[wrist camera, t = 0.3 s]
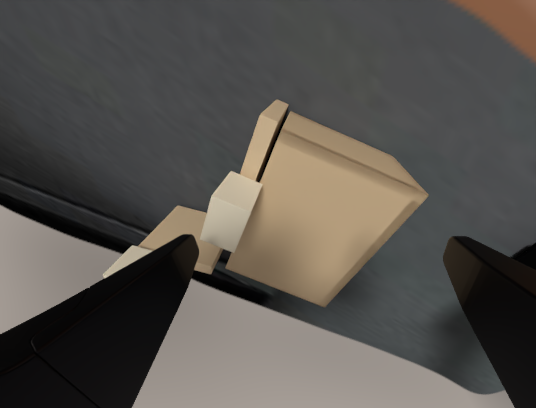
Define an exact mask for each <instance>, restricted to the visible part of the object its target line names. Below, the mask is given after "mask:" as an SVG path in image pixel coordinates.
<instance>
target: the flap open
mask: <svg viewBox="0 0 536 408" xmlns="http://www.w3.org/2000/svg"><path fill="white" fill-rule="evenodd" d="M206 215H207V213H205V212H201V211H197V210H193V209H190V208H186V207H182V206H177V207H176V208H175V209H174V210H173V211H172V212H171V213H170V214H169V215H168V216H167V217H166V218H165V219H164V220H163V221H162V222H161V223H160V224H159V225H158V226H157V227H156V228H155V229H154V230H153V231H152V232H151V233H150V234H149V235H148V236H147V238H146V239H145V240H144V241H143V242H142V243H141V244H140V245H139V246H138V247H137V246H133V245H132V246H131V247H130V248H129V249H128V250H127V251H126V252H125V253H124V254H123V255H122V256H121V257H120V258H119V259H118V260H117V261H116V262H115V263H114V264H113V265H112V266H111V267H110V268H109V269H108V270H107V271H106V272H105V273H104V274H103V277H104V278H106V277H108V276H110V275H111V274H113V273H115V272H117V271H118V270H120V269H122V268H124V267H126V266H127V265H129V264H131V263H133V262H134V261H136V260H138V259H140V258H141V257H143V256H145V255H147V254H149V253H150V252H152V251H154V250H156V249H157V248H159V247H161V246H163V245H164V244H166V243H168V242H170V241H171V240H173V239H175V238H177V237H179V236H180V235H182V234H192V235H194V237H195V240H196V242H197V245H198V248H199V257H198V260H197V263H196V265H195V268H194V270H196V271H200V272H204V273H208V274H212V271H213V269H214V267H215V265H216V263H217V261H218V259H219V257H220V255H221V253H222V251H223V248H220V247H218V246H215V245H213V244H210V243H208V242H205V241H203V240H200V237H201V233H202V229H203V226H204V222H205V218H206Z"/></svg>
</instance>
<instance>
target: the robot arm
mask: <svg viewBox="0 0 536 408" xmlns="http://www.w3.org/2000/svg"><path fill="white" fill-rule="evenodd" d="M198 257H199V248H198V245H197V242H196V240H195V237H194V235H192V234H182V235H180V236H179V237H177V238H175V239H173V240H171V241H170V242H168V243H166V244H164V245H163V246H161V247H159V248H157V249H156V250H154V251H152V252H150V253H149V254H147V255H145V256H143V257H141V258H140V259H138V260H136V261H134V262H133V263H131V264H129V265H127V266H126V267H124V268H122V269H120V270H118V271H117V272H115V273H113V274H111V275H110V276H108V277H106V278H104V279H103V280H101V281H99V282H97V283H96V284H94V285H92V286H90V288H87V289H85V290H83V291H81V292H80V293H78V294H76V295H74V296H72V297H71V298H69V299H67V300H65V301H63V302H62V303H60V304H58V305H56V306H54V307H52V308H50V309H49V310H47V311H45V312H43V313H41V314H39V315H37V316H35V317H33V318H31V319H29V320H27V321H26V322H23V323H21V324H20V325H18V326H16V327H14V328H12V329H10V330H8V331H6V332H4V333H2V334H0V408H132V406H133V404H134V402H135V400H136V398H137V395H138V393H139V391H140V389H141V387H142V385H143V383H144V380H145V378H146V376H147V374H148V372H149V370H150V368H151V366H152V363H153V361H154V359H155V357H156V355H157V353H158V351H159V348H160V346H161V344H162V342H163V340H164V338H165V336H166V333H167V331H168V329H169V327H170V324H171V323H172V320H173V318H174V316H175V314H176V312H177V310H178V308H179V306H180V303H181V301H182V299H183V297H184V295H185V292H186V290H187V288H188V285H189V282H190V280H191V277H192V274H193V271H194V268H195V265H196V263H197V260H198ZM443 262H444V265H445V267H446V270H447V272H448V275H449V277H450V280H451V282H452V285H453V287H454V290H455V292H456V295H457V298H458V300H459V302H460V305H461V307H462V309H463V311H464V313H465V315H466V317H467V319H468V321H469V323H470V325H471V326H472V328H473V330H474V332H475V334H476V336H477V338H478V340H479V341H480V343H481V345H482V347H483V349H484V351H485V353H486V355H487V356H488V358H489V360H490V362H491V364H492V366H493V368H494V370H495V371H496V373H497V375H498V377H499V379H500V381H501V383H502V385H503V386H504V388H505V390H506V392H507V394H508V396H509V398H510V399H511V401H512V403H513V405H514V407H515V408H536V245H535V246H534V247H532V248H531V249H529V250H528V251H526V252H525V253H523V254H522V255H520V256H519V257H517V258H516V259H512V258H510V257H508V256H506V255H504V254H502V253H500V252H498V251H496V250H494V249H492V248H490V247H488V246H486V245H484V244H482V243H480V242H478V241H476V240H473V239H471V238H469V237H466V236H452V237H450V238H449V240H448V243H447V246H446V249H445V252H444V255H443Z"/></svg>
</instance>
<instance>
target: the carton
mask: <svg viewBox="0 0 536 408" xmlns="http://www.w3.org/2000/svg"><path fill="white" fill-rule="evenodd" d="M260 183H261V184H263V185H262V187H261V190H260V192H259V194H258V197H257V199H256V202H255V204H254V206H253V209H252V211H251V214H250V216H249V219H248V221H247V223H246V226H245V228H244V231H243V233H242V235H241V238H240V240H239V243H238V245H237V247H236V250H235V252H234V253H233V252H232V253H231V255H230V258H229V260H228V263H227V265H226V269H228V270H231V271H233V272H236V273H238V274H241V275H243V276H246V277H249V278H251V279H254V280H256V281H259V282H261V283H264V284H266V285H269V286H271V287H274V288H276V289H279V290H282V291H284V292H287V293H289V294H292V295H294V296H297V297H299V298H302V299H304V300H307V301H309V302H312V303H315V304H317V305H320V306H322V307H325V306H326V305H327V304H328V303H329V302H330V301H331V300H332V299H333V298H334V297H335V296H336V295H337V294H338V292H339V291H340V290H341V289H342V288H343V287H344V286H345V285H346V284H347V283H348V282H349V281H350V280H351V279H352V277H353V276H354V275H355V274H356V273H357V272H358V271H359V270H360V269H361V268H362V267H363V266H364V265H365V264H366V262H367V261H368V260H369V259H370V258H371V257H372V256H373V255H374V254H375V253H376V252H377V251H378V250H379V249H380V247H381V246H382V245H383V244H384V243H385V242H386V241H387V240H388V239H389V238H390V237H391V236H392V235H393V234H394V232H395V231H396V230H397V229H398V228H399V227H400V226H401V225H402V224H403V223H404V222H405V221H406V220H407V219H408V217H409V216H410V215H411V214H412V213H413V212H414V211H415V210H416V209H417V208H418V207H419V206H420V205H421V204H422V202H423V201H424V200H425V199H426V198H427V197H428V196H429V195H428V194H427V193H426V191H425V190H424V189H423V188H422V187H421V186H420V185H419V184H418V183H417V182H416V181H415V180H414V179H413V178H412V176H411V175H410V174H409V173H408V172H407V171H406V170H405V169H404V168H403V167H402V166H401V165H400V164H399V162H398V161H397V160H396V159H395V158H394V157H393V156H391V155H389V154H387V153H384V152H382V151H380V150H378V149H375V148H373V147H371V146H368V145H366V144H364V143H362V142H359V141H357V140H355V139H353V138H350V137H348V136H346V135H344V134H341V133H339V132H337V131H335V130H332V129H330V128H328V127H326V126H323V125H321V124H319V123H316V122H314V121H312V120H310V119H307V118H305V117H303V116H301V115H298V114H296V113H294V112H292V111H290V113H289V115H288V117H287V119H286V121H285V123H284V125H283V127H282V129H281V132H280V134H279V136H278V139H277V141H276V144H275V146H274V149H273V151H272V154H271V156H270V159H269V161H268V164H267V166H266V169H265V171H264V174H263V176H262V179H261V181H260Z"/></svg>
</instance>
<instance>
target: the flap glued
mask: <svg viewBox="0 0 536 408" xmlns="http://www.w3.org/2000/svg"><path fill="white" fill-rule="evenodd" d="M287 108H288V104H286V103H284V102H282V101H279V100H275V101H274V102H273V103H272V104H271V105H270V106H269V107H268V108H267V109H265V110H264V111H263V112H262V113H261V114H260V116H259V119H258V122H257V125H256V128H255V131H254V134H253V137H252V140H251V143H250V146H249V149H248V152H247V155H246V158H245V161H244V164H243V167H242V170H241V173H240V175H239V174H237V173H235V172H232V171H231V172H230V173H229V174H228V175H227V177H226V178H225V179H224V181H223V182H222V183H221V184H220V186H219V187H218V188H217V190H216V191H215V192H214V193H213V195H212V196H211V200H210V204H209V207H208V211H207V215H206V218H205V222H204V226H203V229H202V233H201V237H200V240H203V241H205V242H208V243H210V244H213V245H215V246H218V247H220V248H223V249H225V250H228V251H230V252H233V253H234V252H235V250H236V247H237V245H238V243H239V240H240V238H241V235H242V233H243V231H244V228H245V226H246V223H247V221H248V219H249V216H250V214H251V211H252V209H253V206H254V204H255V202H256V199H257V197H258V194H259V192H260V190H261V187H262V185H263V184H261V183H258V180H259V178H260V176H261V173H262V171H263V168H264V166H265V163H266V161H267V158H268V156H269V153H270V151H271V148H272V146H273V143H274V141H275V138H276V135H277V133H278V130H279V128H280V125H281V123H282V120H283V118H284V115H285V113H286V110H287Z"/></svg>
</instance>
